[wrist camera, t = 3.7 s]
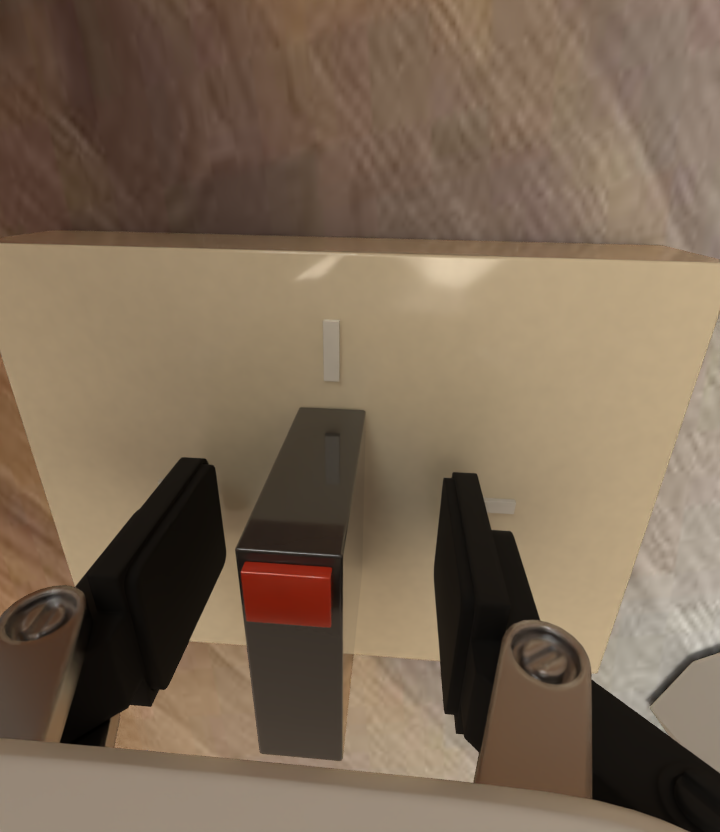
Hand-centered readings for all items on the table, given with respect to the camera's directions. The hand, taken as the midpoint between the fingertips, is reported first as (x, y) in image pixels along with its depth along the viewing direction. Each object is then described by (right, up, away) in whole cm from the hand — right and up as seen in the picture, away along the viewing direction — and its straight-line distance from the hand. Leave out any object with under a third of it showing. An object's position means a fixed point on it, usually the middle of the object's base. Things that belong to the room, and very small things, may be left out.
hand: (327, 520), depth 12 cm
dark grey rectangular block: (0, 0, +1) cm, 1 cm away
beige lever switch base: (0, +2, +4) cm, 4 cm away
